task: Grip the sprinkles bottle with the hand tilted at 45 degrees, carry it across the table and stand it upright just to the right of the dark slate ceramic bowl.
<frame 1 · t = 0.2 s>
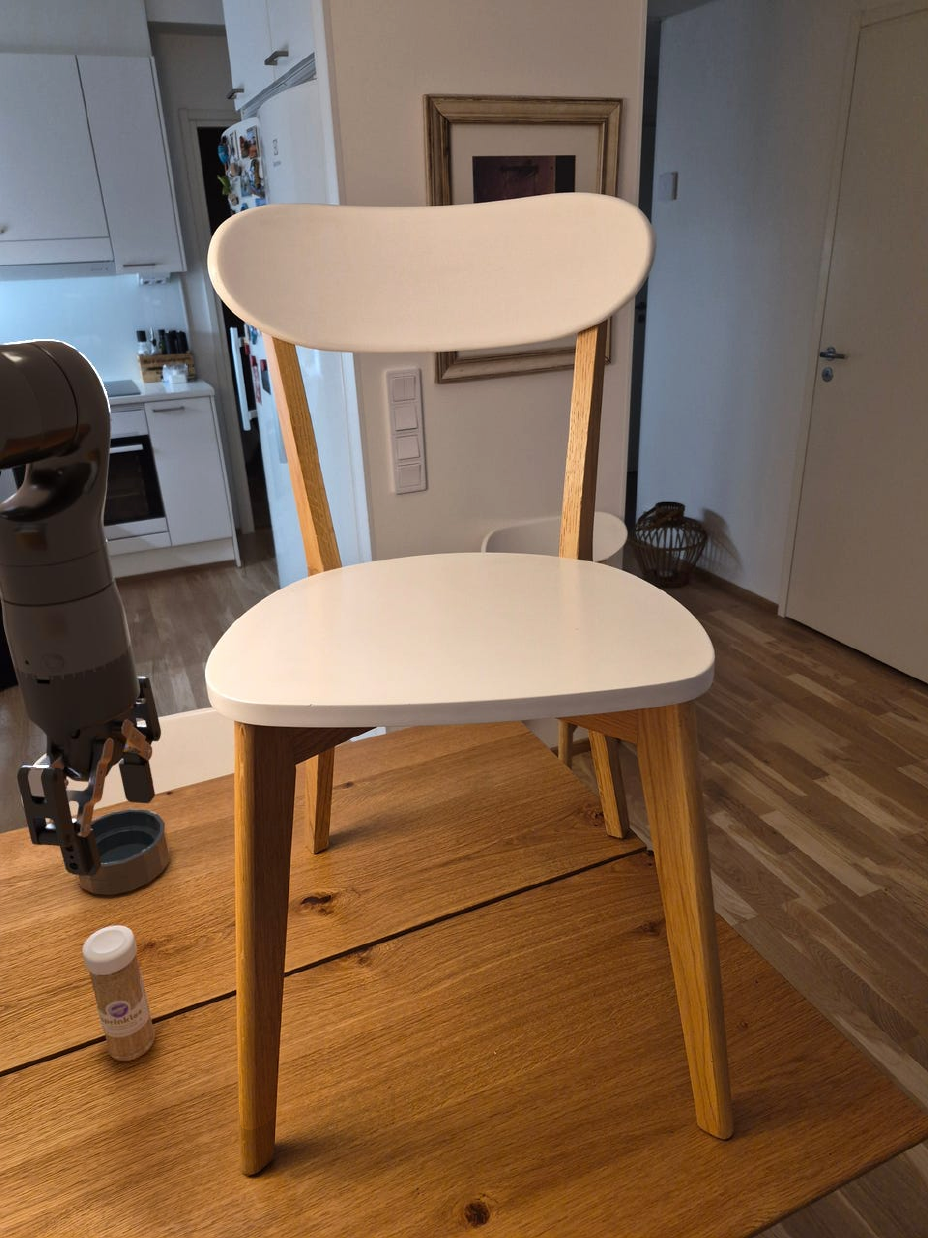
hand: (115, 834, 64), 31 cm above the table, tool pointing down, fingers open, 8 cm apart
bowl: (125, 867, 106), on the table
sprinkles bottle: (133, 1044, 82), on the table
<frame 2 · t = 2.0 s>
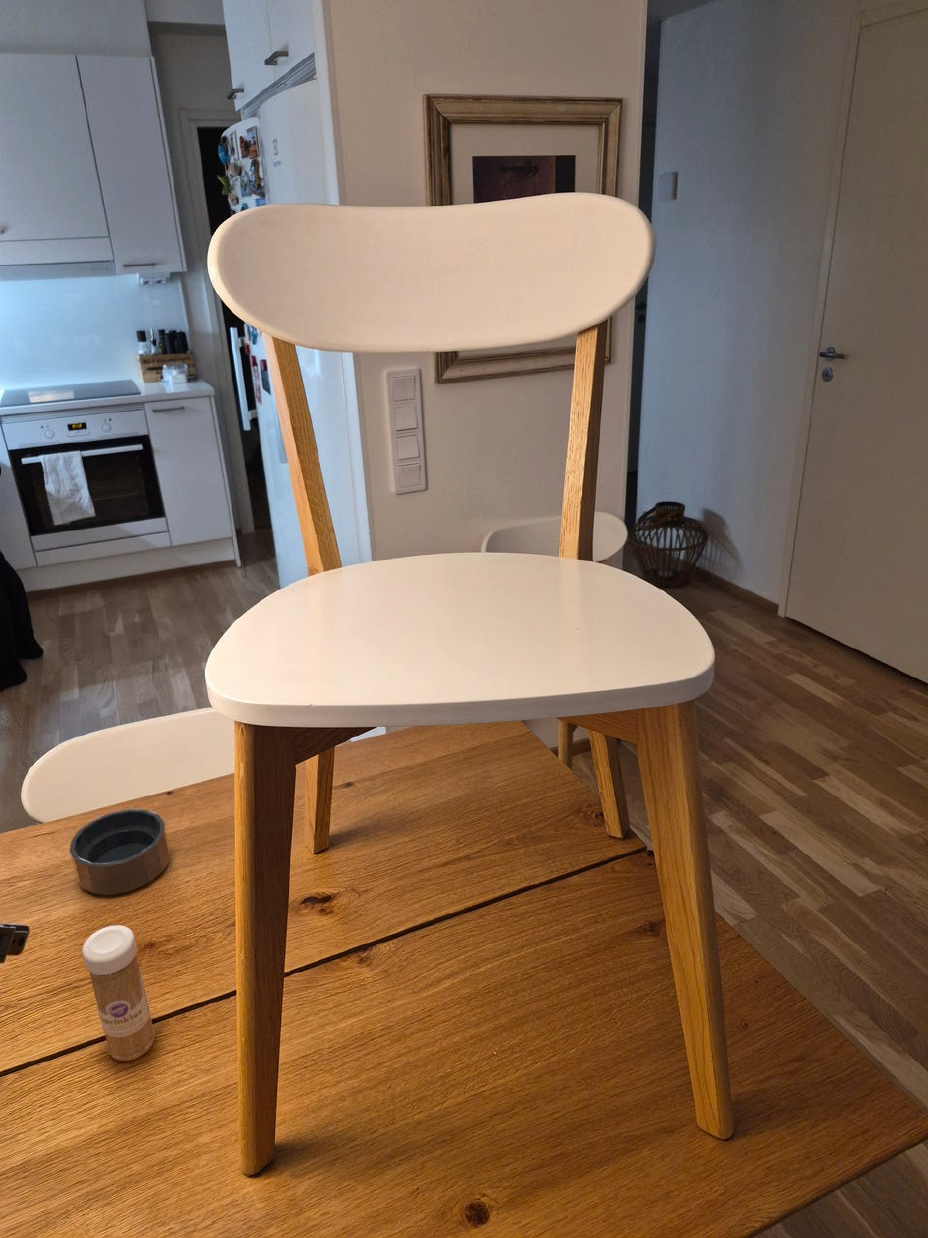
nothing on the table moved.
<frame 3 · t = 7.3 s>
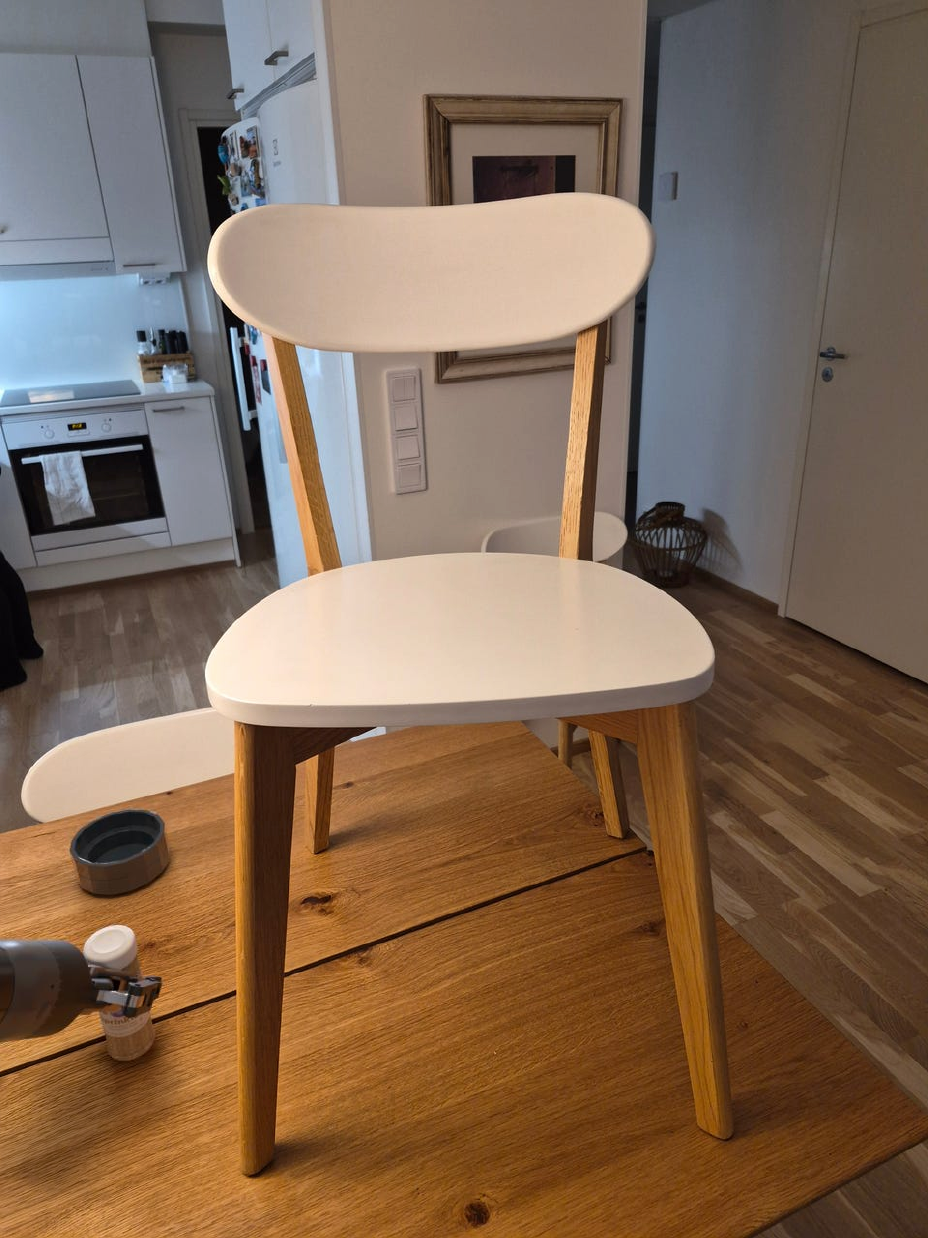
hand: (133, 983, 82), 6 cm above the table, tool tilted 45°, fingers closed on sprinkles bottle, 4 cm apart
sprinkles bottle: (133, 1044, 82), on the table, touching gripper
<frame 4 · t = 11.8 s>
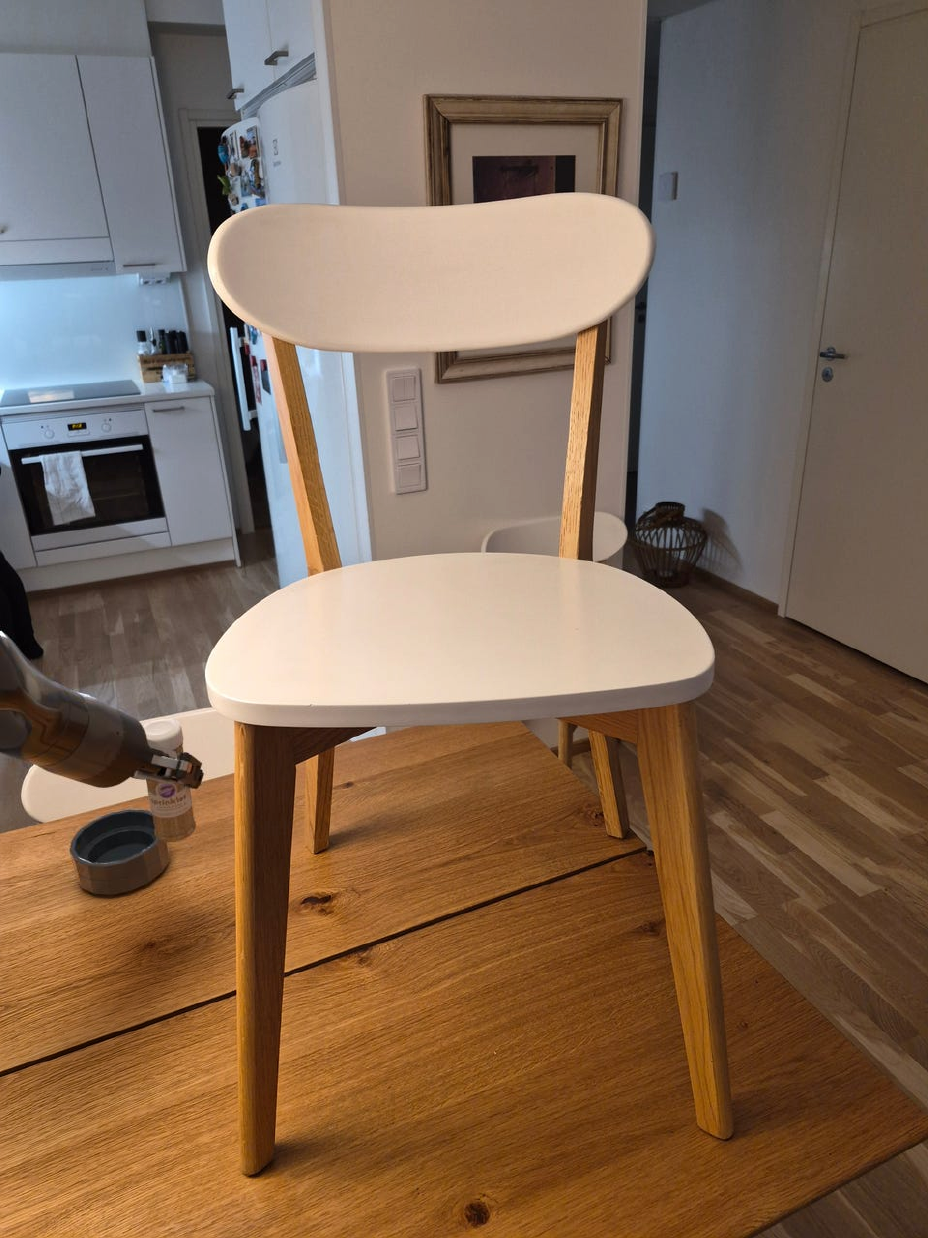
hand: (178, 776, 92), 19 cm above the table, tool tilted 45°, fingers closed on sprinkles bottle, 4 cm apart
sprinkles bottle: (176, 832, 93), point 13 cm above the table, touching gripper
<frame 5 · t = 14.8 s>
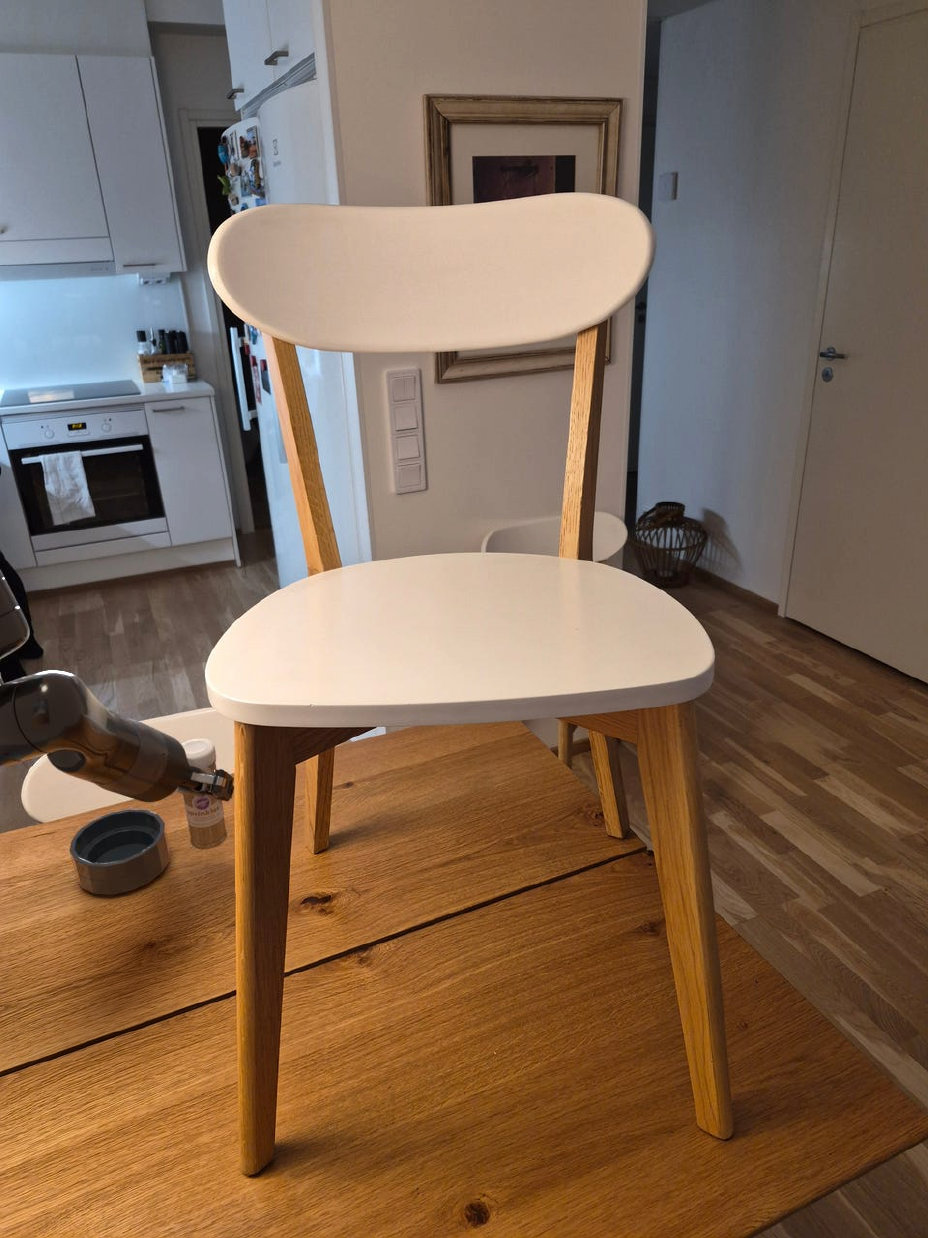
hand: (210, 790, 102), 11 cm above the table, tool tilted 45°, fingers closed on sprinkles bottle, 4 cm apart
sprinkles bottle: (209, 840, 103), point 5 cm above the table, touching gripper
when the fingers open (6 cm above the table, at t = 16.7 s): sprinkles bottle stays where it is, on the table.
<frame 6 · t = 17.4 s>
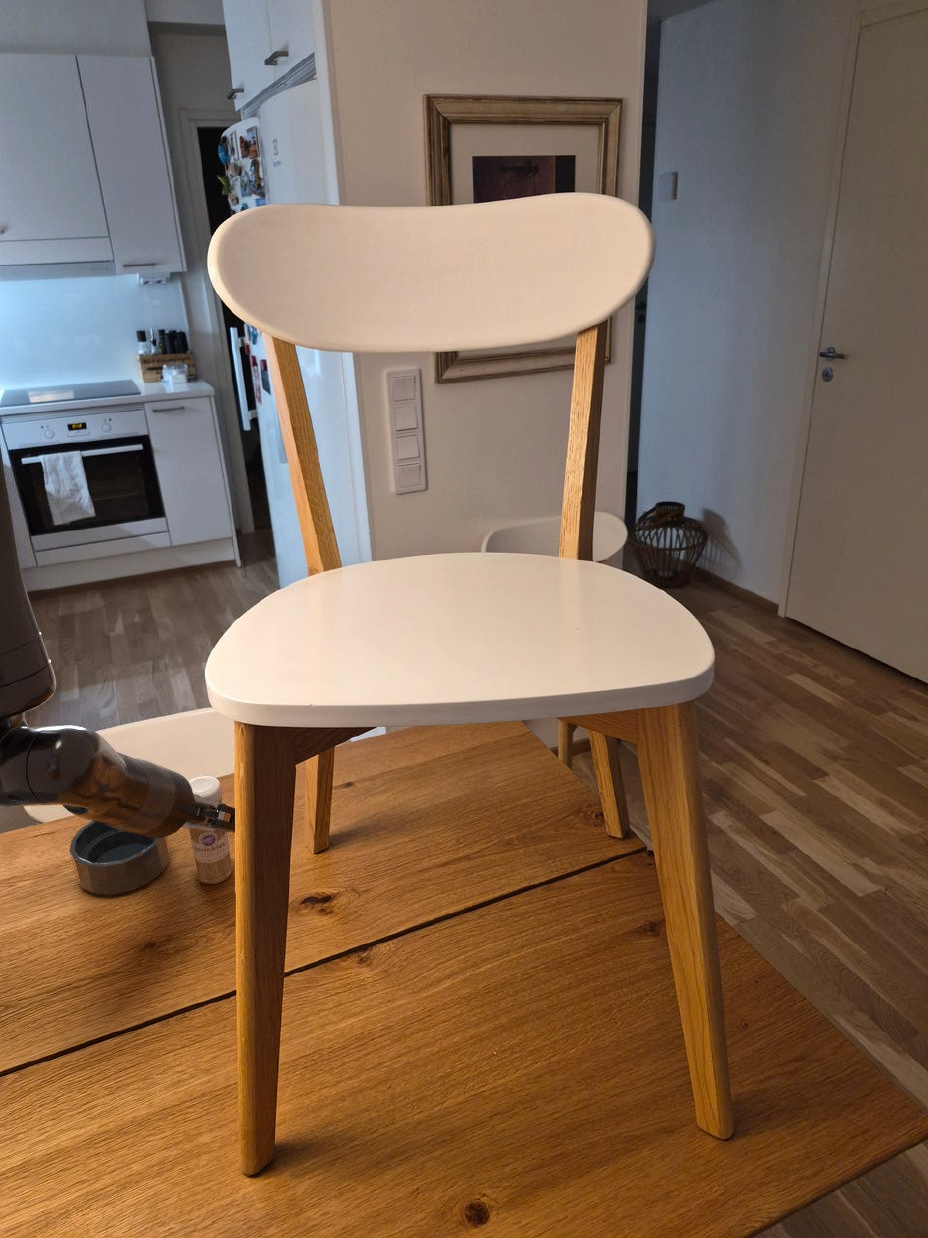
hand: (212, 820, 103), 7 cm above the table, tool tilted 45°, fingers open, 8 cm apart
sprinkles bottle: (215, 874, 105), on the table
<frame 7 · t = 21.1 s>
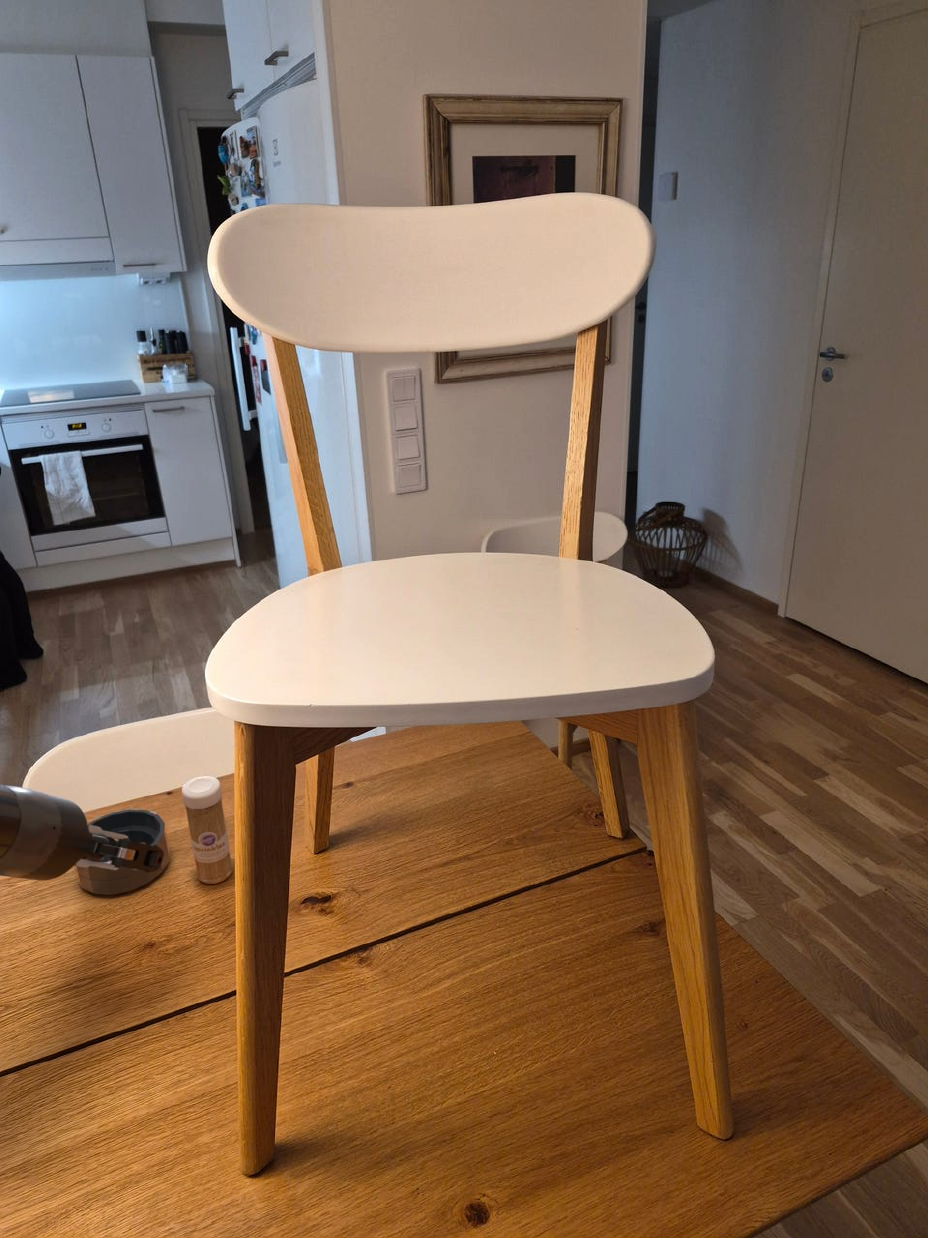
hand: (123, 853, 88), 14 cm above the table, tool tilted 45°, fingers open, 8 cm apart
nothing on the table moved.
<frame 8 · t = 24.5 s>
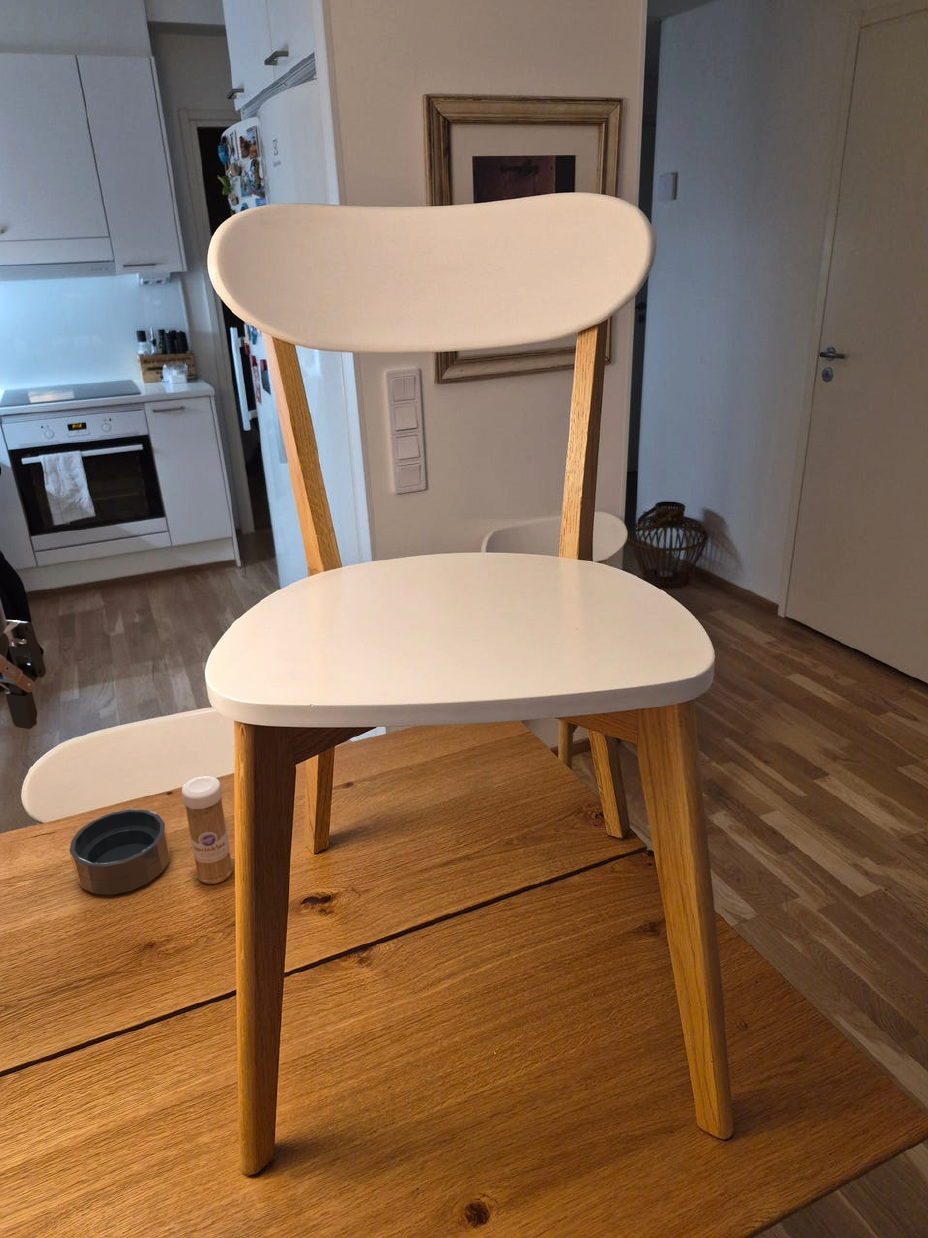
nothing on the table moved.
at the end: sprinkles bottle inside the target area on the table beside the bowl (0.3 cm from its centre), on the table; sprinkles bottle tilted 0°; the gripper is holding nothing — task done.
